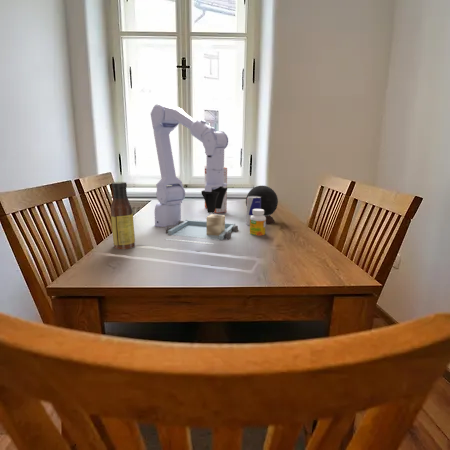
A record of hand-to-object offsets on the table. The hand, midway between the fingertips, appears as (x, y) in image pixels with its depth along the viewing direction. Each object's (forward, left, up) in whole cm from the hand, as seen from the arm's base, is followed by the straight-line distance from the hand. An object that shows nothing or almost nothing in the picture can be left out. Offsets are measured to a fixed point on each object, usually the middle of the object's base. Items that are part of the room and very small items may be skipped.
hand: (214, 210), depth 114 cm
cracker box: (-14, +47, -10) cm, 50 cm away
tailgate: (-5, -7, -9) cm, 12 cm away
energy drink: (+10, +19, -10) cm, 23 cm away
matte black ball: (+11, +31, -10) cm, 34 cm away
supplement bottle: (+14, +6, -10) cm, 18 cm away
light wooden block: (0, +1, -8) cm, 8 cm away
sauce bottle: (-22, -20, -10) cm, 32 cm away
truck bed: (-5, +2, -9) cm, 11 cm away
